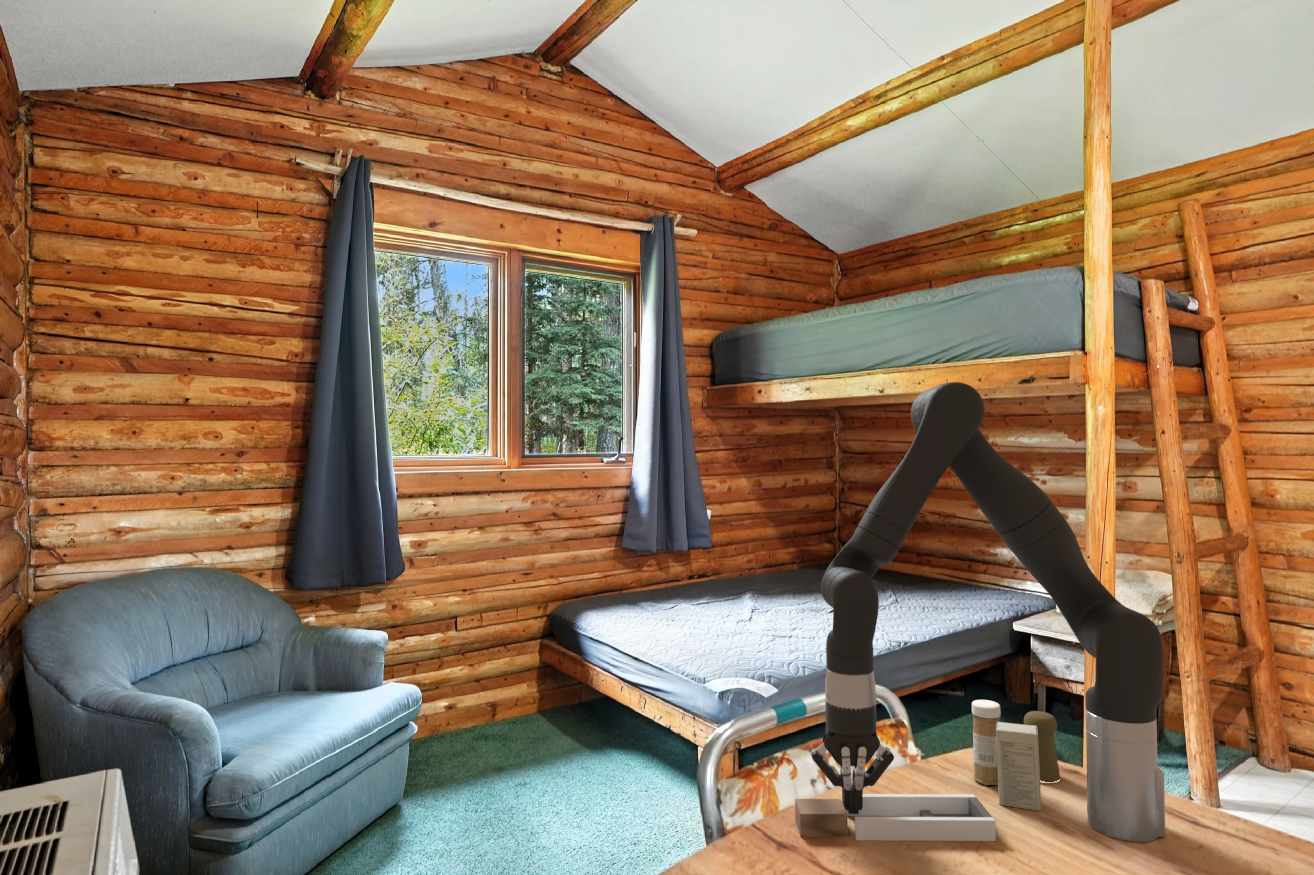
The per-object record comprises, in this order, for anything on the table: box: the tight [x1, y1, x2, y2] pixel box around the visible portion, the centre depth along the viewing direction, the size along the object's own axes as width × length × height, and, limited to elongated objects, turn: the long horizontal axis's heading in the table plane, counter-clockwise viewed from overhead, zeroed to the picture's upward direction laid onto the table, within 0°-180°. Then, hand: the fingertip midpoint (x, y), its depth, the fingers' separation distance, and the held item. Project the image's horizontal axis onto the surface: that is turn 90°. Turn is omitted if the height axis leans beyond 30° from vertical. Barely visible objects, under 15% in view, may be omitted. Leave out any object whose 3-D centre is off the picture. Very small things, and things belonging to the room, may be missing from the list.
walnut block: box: [794, 798, 849, 838], centre depth 118 cm, size 7×5×4 cm
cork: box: [1023, 710, 1061, 782], centre depth 136 cm, size 6×6×11 cm
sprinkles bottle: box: [971, 699, 1002, 786], centre depth 134 cm, size 5×5×14 cm
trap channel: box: [846, 793, 997, 842], centre depth 119 cm, size 20×8×3 cm, turn 88°
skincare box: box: [996, 721, 1042, 811], centre depth 126 cm, size 6×4×12 cm
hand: (852, 811), depth 119 cm, fingers closed
